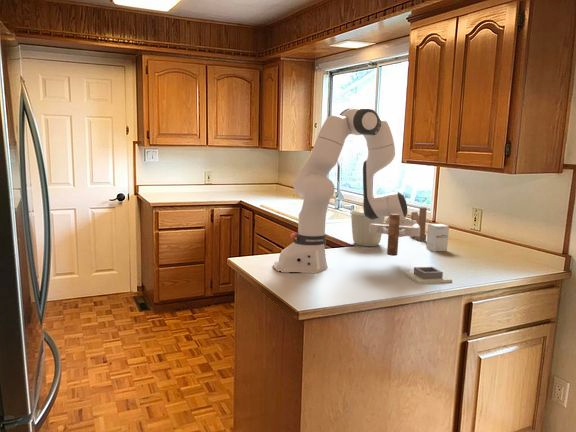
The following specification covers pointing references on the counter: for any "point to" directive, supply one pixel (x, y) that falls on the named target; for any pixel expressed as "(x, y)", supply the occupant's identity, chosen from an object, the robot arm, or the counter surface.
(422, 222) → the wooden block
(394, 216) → the walnut dowel
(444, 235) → the supplement box
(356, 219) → the canister
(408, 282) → the counter surface
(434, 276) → the dowel holder
